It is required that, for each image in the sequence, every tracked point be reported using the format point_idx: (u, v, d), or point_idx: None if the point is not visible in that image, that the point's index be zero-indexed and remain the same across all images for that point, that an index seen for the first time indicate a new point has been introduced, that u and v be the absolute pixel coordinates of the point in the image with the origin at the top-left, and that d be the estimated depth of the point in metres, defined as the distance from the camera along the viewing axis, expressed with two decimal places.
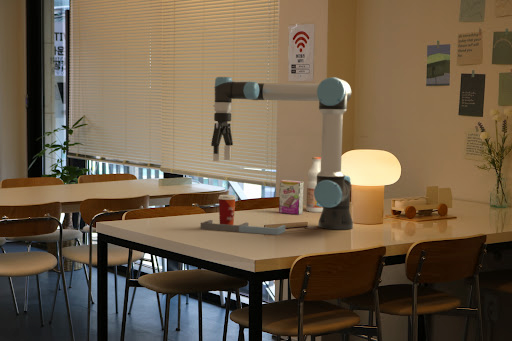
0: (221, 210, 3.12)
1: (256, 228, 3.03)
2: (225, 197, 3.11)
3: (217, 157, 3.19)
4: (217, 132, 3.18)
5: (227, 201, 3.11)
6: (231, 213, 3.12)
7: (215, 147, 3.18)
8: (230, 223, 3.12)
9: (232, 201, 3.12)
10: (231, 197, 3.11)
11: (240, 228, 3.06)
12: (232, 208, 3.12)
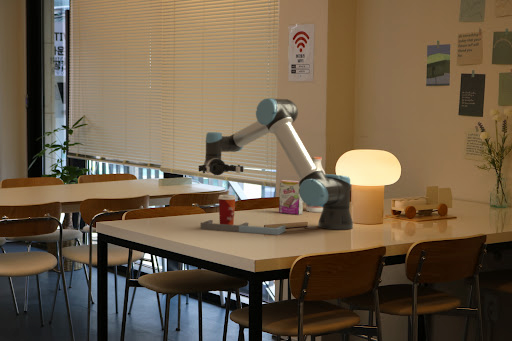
0: (221, 210, 3.12)
1: (256, 228, 3.03)
2: (225, 197, 3.11)
3: (207, 168, 3.23)
4: None
5: (227, 201, 3.11)
6: (231, 213, 3.12)
7: (203, 168, 3.27)
8: (230, 223, 3.12)
9: (232, 201, 3.12)
10: (231, 197, 3.11)
11: (240, 228, 3.06)
12: (232, 208, 3.12)
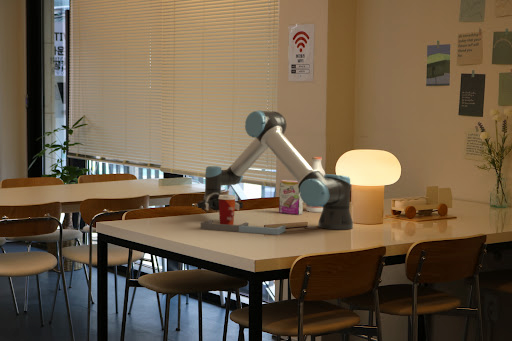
0: (221, 210, 3.12)
1: (256, 228, 3.03)
2: (225, 197, 3.11)
3: (206, 205, 3.23)
4: None
5: (227, 201, 3.11)
6: (231, 213, 3.12)
7: (202, 205, 3.27)
8: (230, 223, 3.12)
9: (232, 201, 3.12)
10: (231, 197, 3.11)
11: (240, 228, 3.06)
12: (232, 208, 3.12)
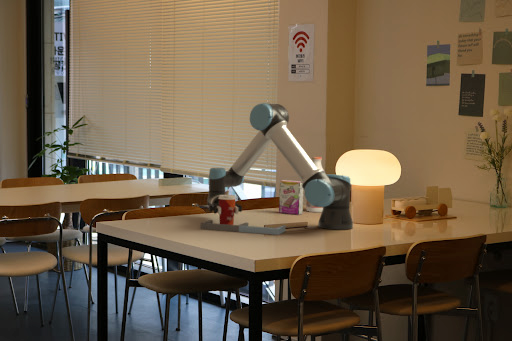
0: (221, 210, 3.12)
1: (256, 228, 3.03)
2: (225, 197, 3.11)
3: (218, 209, 3.10)
4: (209, 205, 3.21)
5: (227, 201, 3.11)
6: (231, 213, 3.12)
7: (214, 209, 3.14)
8: (230, 223, 3.12)
9: (232, 201, 3.12)
10: (231, 197, 3.11)
11: (240, 228, 3.06)
12: (232, 208, 3.12)
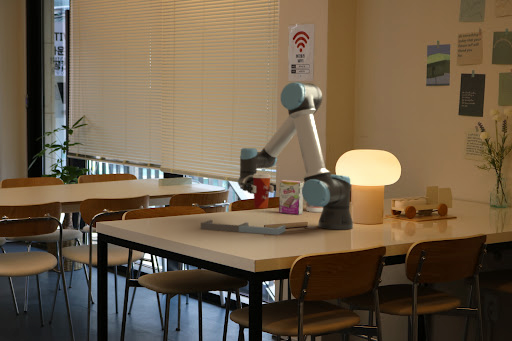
0: (256, 189, 3.07)
1: (256, 228, 3.03)
2: (260, 175, 3.06)
3: (253, 187, 3.05)
4: (242, 185, 3.15)
5: (262, 179, 3.05)
6: (266, 192, 3.07)
7: (248, 188, 3.09)
8: (265, 202, 3.07)
9: (267, 180, 3.06)
10: (266, 175, 3.06)
11: (240, 228, 3.06)
12: (267, 187, 3.07)
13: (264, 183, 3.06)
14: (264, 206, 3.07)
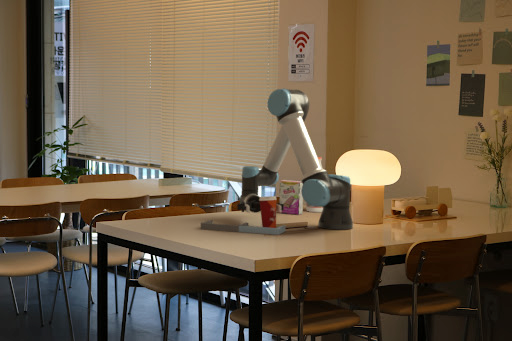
0: (263, 211, 3.09)
1: (256, 228, 3.03)
2: (266, 198, 3.08)
3: (247, 207, 3.06)
4: None
5: (269, 202, 3.08)
6: (273, 214, 3.09)
7: (242, 207, 3.10)
8: (273, 224, 3.09)
9: (273, 201, 3.09)
10: (272, 197, 3.08)
11: (240, 228, 3.06)
12: (274, 209, 3.09)
13: (271, 205, 3.08)
14: None
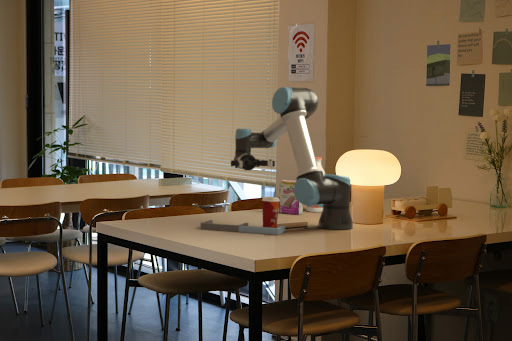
0: (265, 212, 3.09)
1: (256, 228, 3.03)
2: (269, 199, 3.07)
3: (240, 162, 3.26)
4: None
5: (271, 203, 3.07)
6: (275, 215, 3.09)
7: (235, 163, 3.30)
8: (274, 225, 3.09)
9: (276, 203, 3.08)
10: (275, 199, 3.08)
11: (240, 228, 3.06)
12: (276, 210, 3.09)
13: (273, 206, 3.08)
14: None
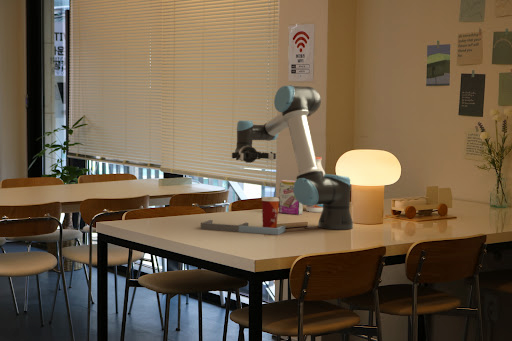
0: (264, 212, 3.09)
1: (256, 228, 3.03)
2: (269, 199, 3.08)
3: (241, 155, 3.27)
4: None
5: (271, 203, 3.07)
6: (275, 215, 3.09)
7: (236, 155, 3.31)
8: (273, 225, 3.09)
9: (276, 203, 3.08)
10: (275, 199, 3.08)
11: (240, 228, 3.06)
12: (276, 210, 3.09)
13: (273, 206, 3.08)
14: None
